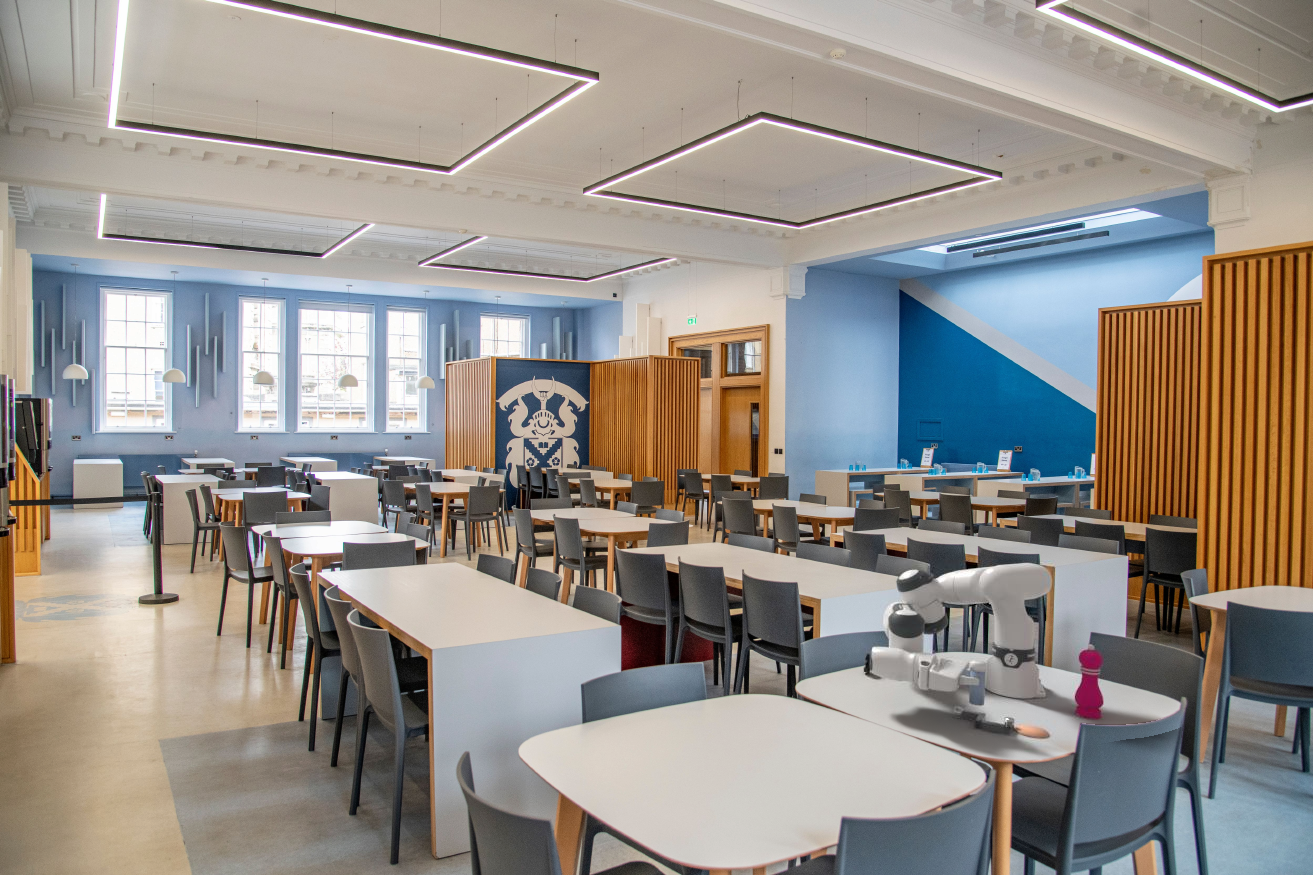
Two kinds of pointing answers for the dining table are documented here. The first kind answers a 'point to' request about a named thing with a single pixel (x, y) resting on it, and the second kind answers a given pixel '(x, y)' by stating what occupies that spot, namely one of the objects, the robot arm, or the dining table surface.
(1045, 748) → the dining table surface
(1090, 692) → the pepper mill
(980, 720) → the rail
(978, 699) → the shaker
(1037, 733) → the coaster
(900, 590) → the robot arm
